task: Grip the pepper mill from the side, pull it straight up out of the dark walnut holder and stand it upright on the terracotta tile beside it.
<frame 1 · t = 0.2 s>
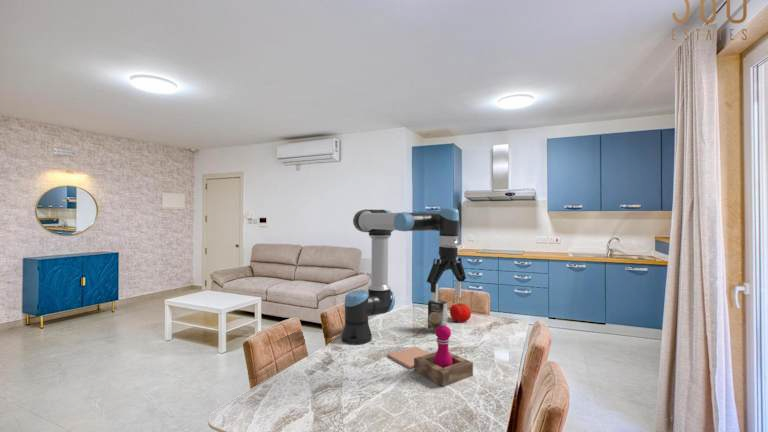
hand: (446, 298, 143), 28 cm above the table, tool pointing down, fingers open, 13 cm apart
pepper mill: (443, 373, 137), resting in walnut holder
coffee box: (437, 331, 188), on the table
tomato: (459, 321, 207), on the table
terracotta tile: (413, 358, 152), on the table
walnut holder: (443, 373, 137), on the table
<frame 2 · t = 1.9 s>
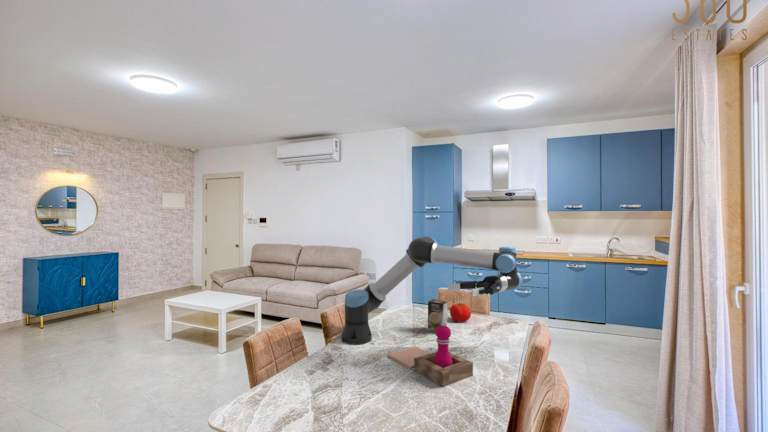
hand: (459, 290, 143), 31 cm above the table, tool horizontal, fingers open, 13 cm apart
nothing on the table moved.
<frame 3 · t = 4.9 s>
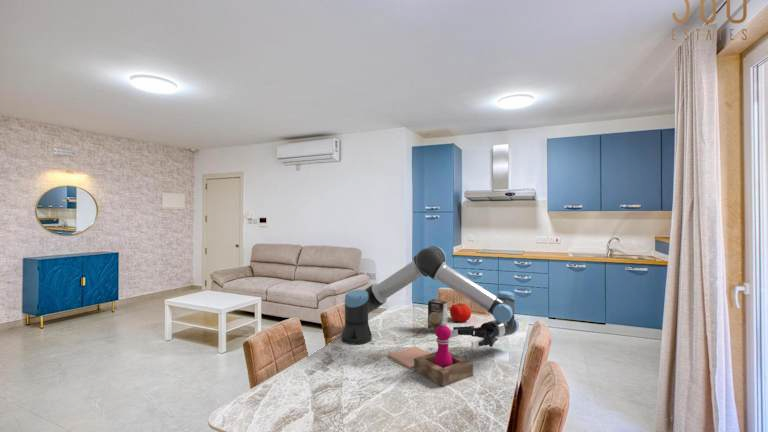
hand: (458, 340, 142), 11 cm above the table, tool horizontal, fingers open, 13 cm apart
nothing on the table moved.
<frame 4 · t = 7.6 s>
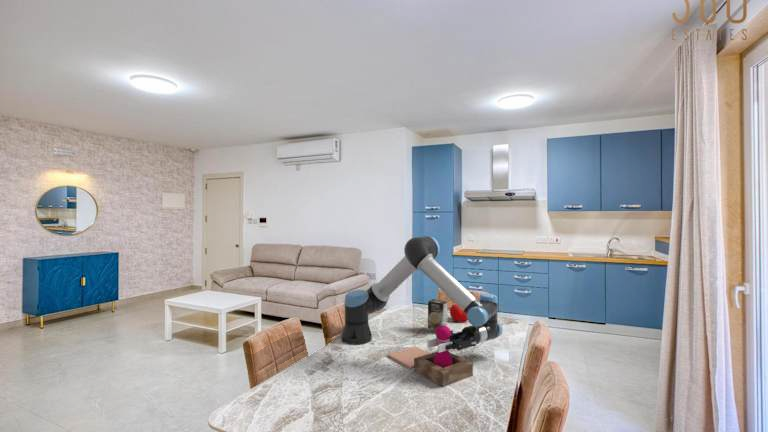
hand: (433, 346, 134), 12 cm above the table, tool horizontal, fingers closed on pepper mill, 5 cm apart
pepper mill: (443, 373, 137), resting in walnut holder, touching gripper
everything else where it was.
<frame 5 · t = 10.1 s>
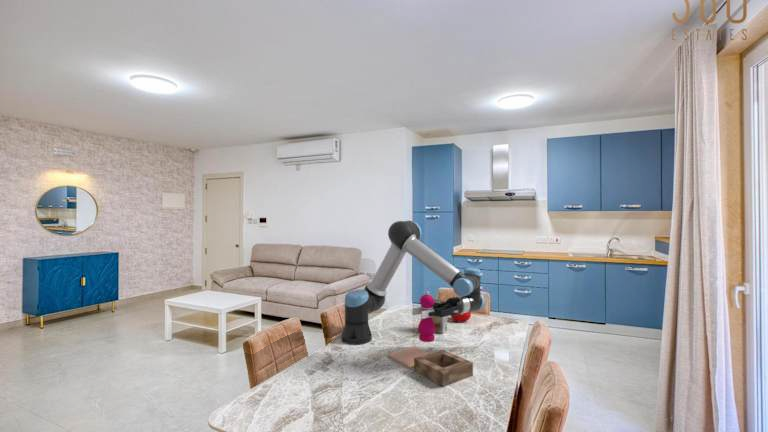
hand: (417, 313, 142), 22 cm above the table, tool horizontal, fingers closed on pepper mill, 5 cm apart
pepper mill: (426, 339, 145), point 10 cm above the table, touching gripper
everything else where it was.
when the fingers open (14 cm above the table, at t = 12.9 s): pepper mill drops 1 cm, resting on terracotta tile.
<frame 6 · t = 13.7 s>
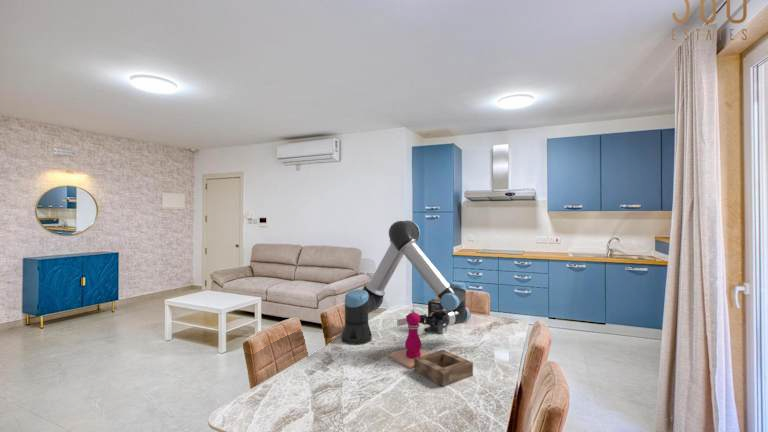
hand: (407, 326, 150), 14 cm above the table, tool horizontal, fingers open, 13 cm apart
pepper mill: (413, 356, 152), point 1 cm above the table, touching terracotta tile
everything else where it was.
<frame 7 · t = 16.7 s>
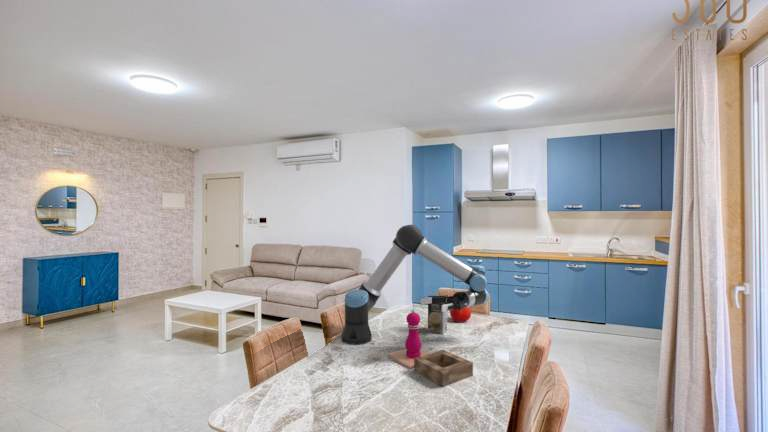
hand: (431, 305, 157), 22 cm above the table, tool horizontal, fingers open, 13 cm apart
nothing on the table moved.
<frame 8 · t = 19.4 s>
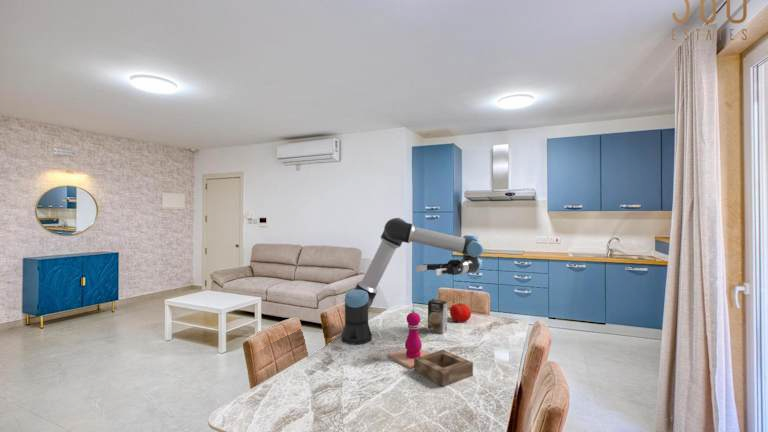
hand: (425, 270, 164), 36 cm above the table, tool horizontal, fingers open, 13 cm apart
nothing on the table moved.
at the end: pepper mill inside the target area (0.1 cm from its centre), point 0.8 cm above the table; pepper mill tilted 0°; the gripper is holding nothing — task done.
